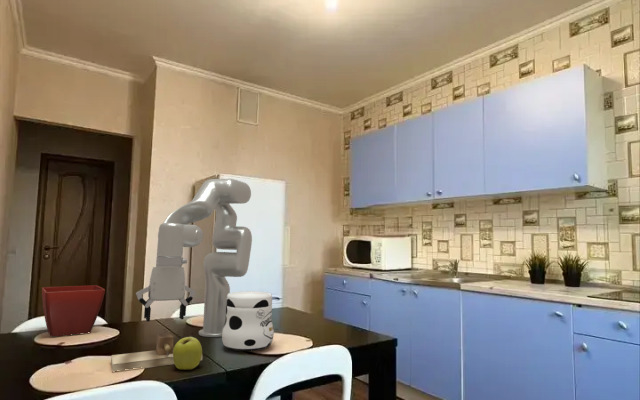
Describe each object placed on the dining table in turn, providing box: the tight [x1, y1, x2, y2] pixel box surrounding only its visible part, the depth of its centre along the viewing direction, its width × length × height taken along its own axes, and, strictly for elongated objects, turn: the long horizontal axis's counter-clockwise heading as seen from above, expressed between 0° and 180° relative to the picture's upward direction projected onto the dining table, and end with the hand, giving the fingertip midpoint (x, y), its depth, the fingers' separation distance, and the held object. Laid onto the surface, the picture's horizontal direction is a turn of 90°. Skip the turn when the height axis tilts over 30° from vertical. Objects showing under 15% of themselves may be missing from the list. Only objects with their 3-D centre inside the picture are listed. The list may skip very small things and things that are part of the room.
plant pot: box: [41, 284, 106, 337], centre depth 150 cm, size 19×19×17 cm
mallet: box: [155, 332, 174, 356], centre depth 116 cm, size 4×10×5 cm, turn 31°
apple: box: [173, 332, 203, 371], centre depth 110 cm, size 8×8×10 cm
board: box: [110, 347, 204, 371], centre depth 115 cm, size 24×10×2 cm, turn 121°
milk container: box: [221, 290, 275, 352], centre depth 133 cm, size 17×17×18 cm
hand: (164, 319), depth 118 cm, fingers open, 9 cm apart
